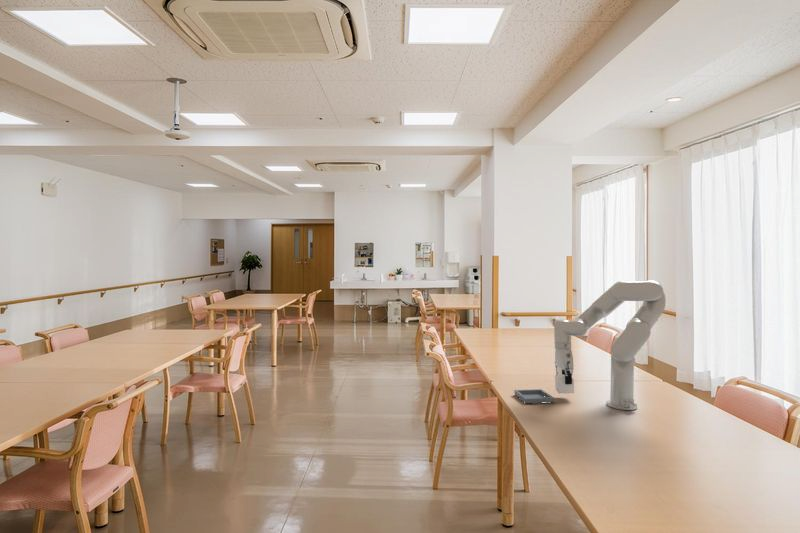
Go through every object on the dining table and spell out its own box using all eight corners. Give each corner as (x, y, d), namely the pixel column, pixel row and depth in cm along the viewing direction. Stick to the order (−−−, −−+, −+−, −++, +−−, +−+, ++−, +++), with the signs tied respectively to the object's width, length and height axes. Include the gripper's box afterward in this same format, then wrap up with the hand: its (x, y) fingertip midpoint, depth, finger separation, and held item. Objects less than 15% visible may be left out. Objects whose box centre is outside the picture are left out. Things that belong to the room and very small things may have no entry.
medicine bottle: (570, 389, 221) (569, 364, 221) (574, 393, 214) (573, 368, 214) (555, 389, 221) (554, 365, 221) (558, 393, 214) (557, 368, 214)
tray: (554, 403, 210) (554, 397, 210) (525, 404, 209) (525, 398, 209) (541, 394, 224) (541, 389, 224) (514, 395, 223) (514, 390, 223)
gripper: (579, 348, 209) (580, 386, 209) (561, 342, 227) (563, 377, 227) (564, 349, 208) (565, 387, 208) (547, 343, 226) (548, 378, 226)
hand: (564, 381), depth 217 cm, fingers closed on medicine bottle, 8 cm apart
